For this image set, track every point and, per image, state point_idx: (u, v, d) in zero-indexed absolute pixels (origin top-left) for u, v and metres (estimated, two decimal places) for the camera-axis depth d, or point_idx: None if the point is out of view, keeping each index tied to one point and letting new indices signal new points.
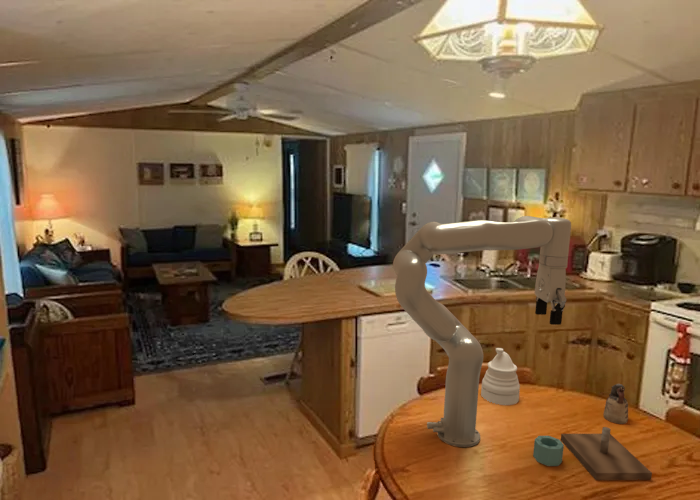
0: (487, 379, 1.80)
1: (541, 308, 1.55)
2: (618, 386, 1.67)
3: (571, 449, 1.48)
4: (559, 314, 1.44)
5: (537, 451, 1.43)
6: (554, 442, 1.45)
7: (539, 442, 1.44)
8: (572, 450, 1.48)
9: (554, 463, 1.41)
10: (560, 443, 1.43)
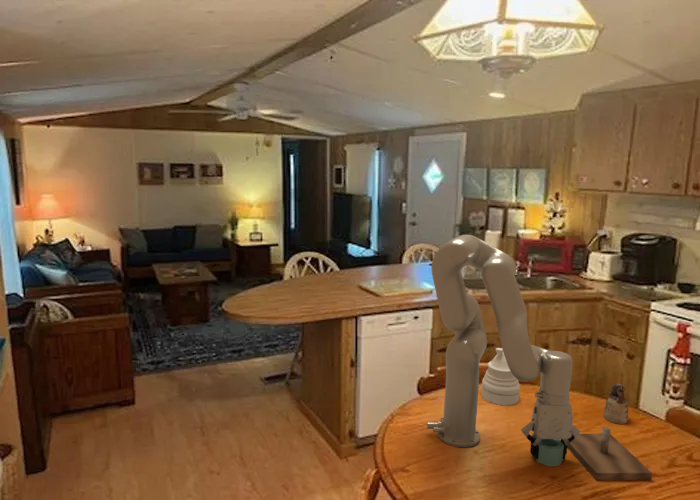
0: (487, 379, 1.80)
1: None
2: (618, 386, 1.67)
3: (571, 449, 1.48)
4: None
5: None
6: (554, 442, 1.45)
7: (539, 442, 1.44)
8: (572, 450, 1.48)
9: (554, 463, 1.41)
10: (560, 443, 1.43)
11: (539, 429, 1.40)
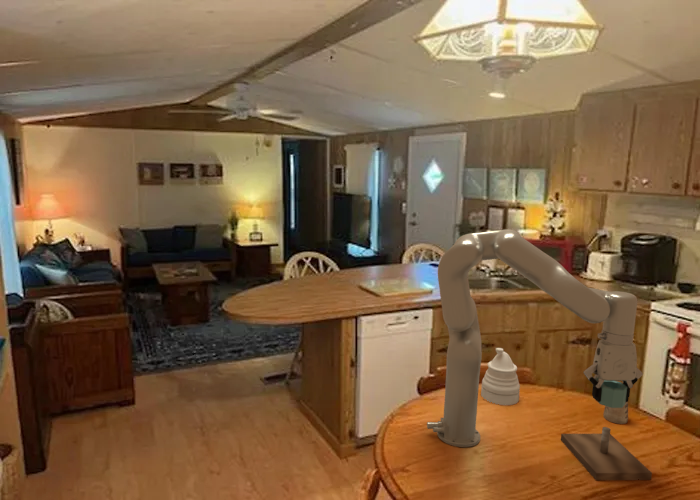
0: (487, 379, 1.80)
1: None
2: None
3: (571, 449, 1.48)
4: None
5: None
6: (616, 385, 1.43)
7: (602, 384, 1.42)
8: (572, 450, 1.48)
9: (618, 405, 1.39)
10: (623, 385, 1.41)
11: (603, 370, 1.38)
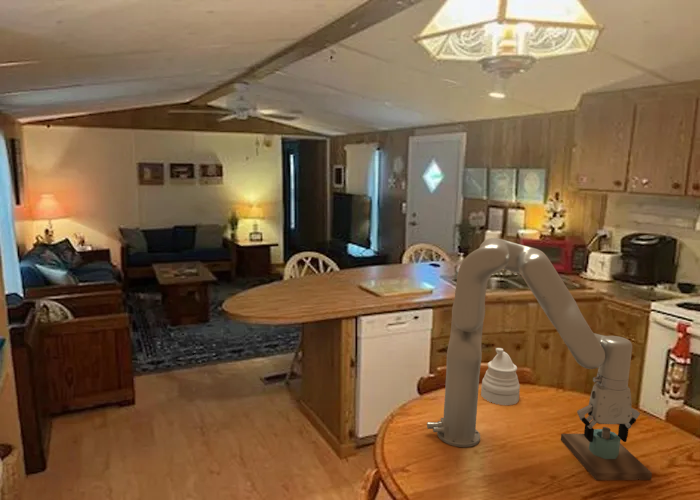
0: (487, 379, 1.80)
1: None
2: None
3: (571, 449, 1.48)
4: None
5: (594, 444, 1.44)
6: (610, 435, 1.46)
7: (596, 435, 1.44)
8: (572, 450, 1.48)
9: (612, 456, 1.42)
10: (617, 436, 1.44)
11: (598, 414, 1.40)
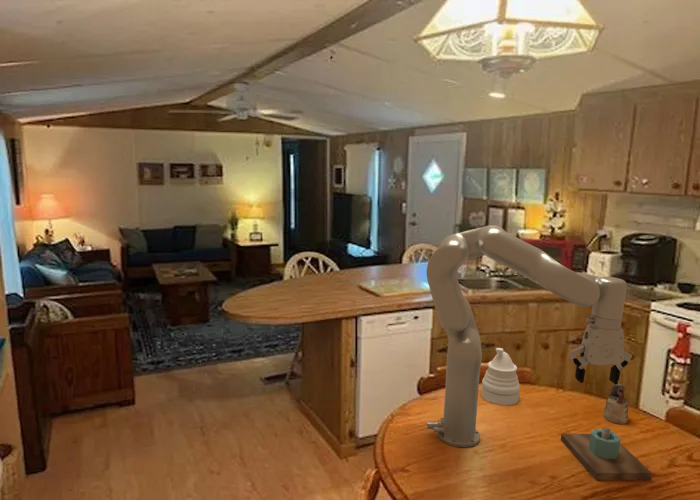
0: (487, 379, 1.80)
1: None
2: (618, 386, 1.67)
3: (571, 449, 1.48)
4: None
5: (594, 444, 1.44)
6: (610, 435, 1.46)
7: (596, 435, 1.44)
8: (572, 450, 1.48)
9: (612, 456, 1.42)
10: (617, 436, 1.44)
11: (590, 354, 1.40)
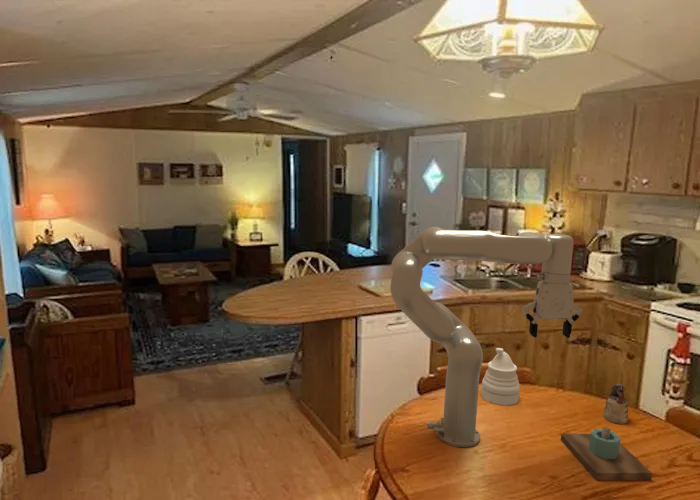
0: (487, 379, 1.80)
1: None
2: (618, 386, 1.67)
3: (571, 449, 1.48)
4: None
5: (594, 444, 1.44)
6: (610, 435, 1.46)
7: (596, 435, 1.44)
8: (572, 450, 1.48)
9: (612, 456, 1.42)
10: (617, 436, 1.44)
11: (541, 308, 1.45)
